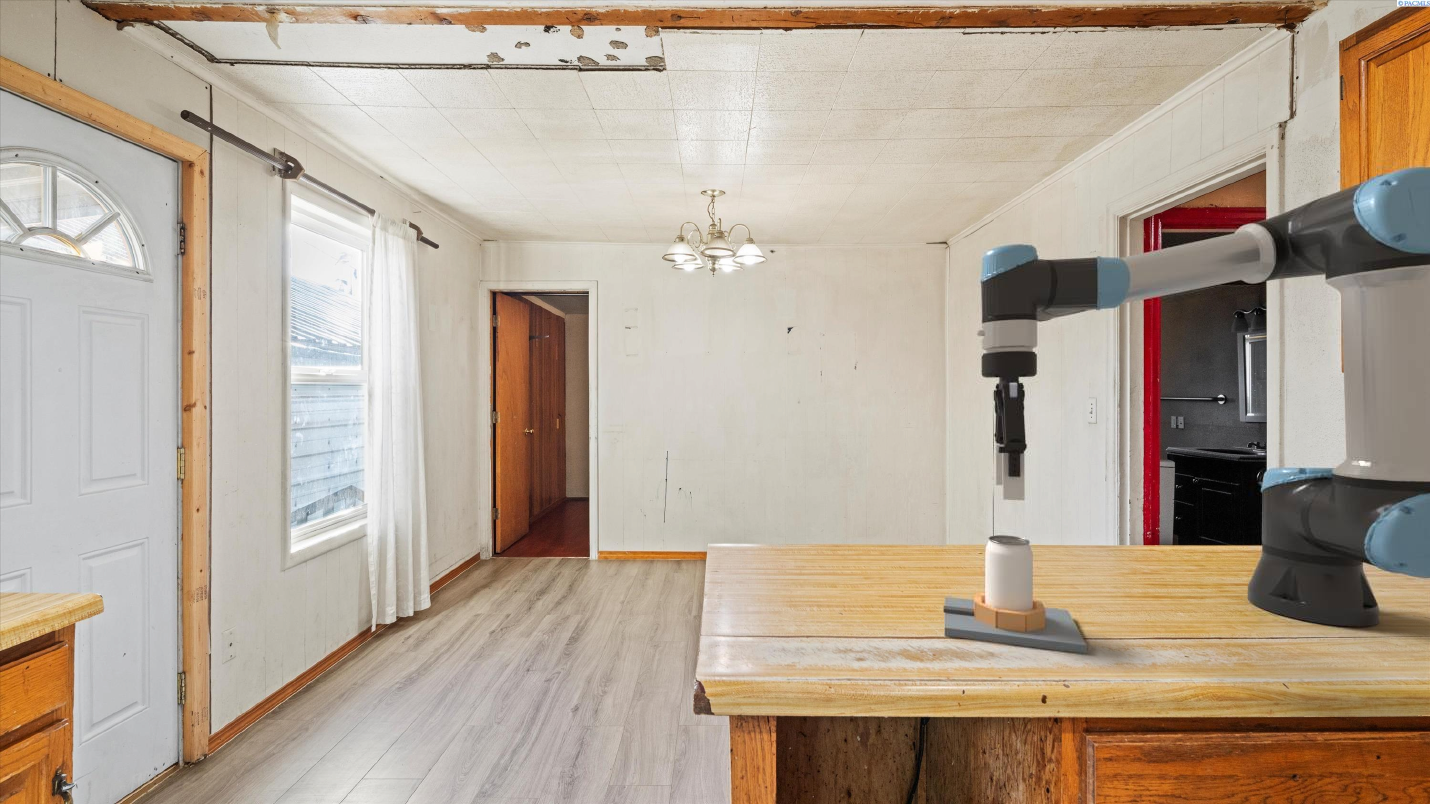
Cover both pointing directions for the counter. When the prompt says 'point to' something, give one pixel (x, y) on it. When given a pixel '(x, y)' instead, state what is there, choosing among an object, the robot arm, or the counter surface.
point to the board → (1012, 625)
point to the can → (1009, 573)
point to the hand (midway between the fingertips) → (1008, 492)
